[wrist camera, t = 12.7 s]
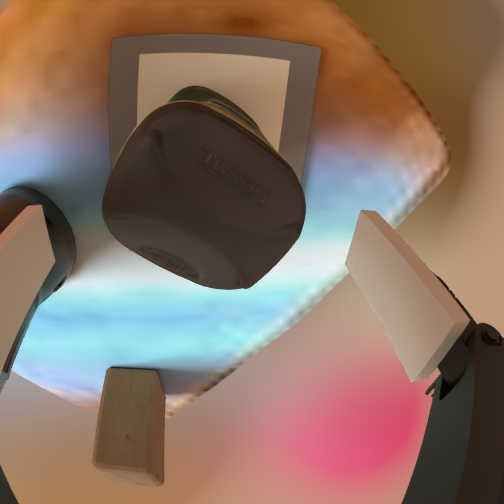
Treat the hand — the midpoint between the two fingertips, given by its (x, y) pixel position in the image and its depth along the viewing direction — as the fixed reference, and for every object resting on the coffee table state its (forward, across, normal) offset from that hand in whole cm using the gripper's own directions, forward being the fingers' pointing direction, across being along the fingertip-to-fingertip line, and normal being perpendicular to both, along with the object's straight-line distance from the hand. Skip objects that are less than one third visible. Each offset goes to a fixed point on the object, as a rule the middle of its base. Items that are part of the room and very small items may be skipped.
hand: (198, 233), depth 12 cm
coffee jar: (+19, 0, 0) cm, 19 cm away
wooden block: (+21, -12, -44) cm, 50 cm away
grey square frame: (+21, 0, 0) cm, 21 cm away
